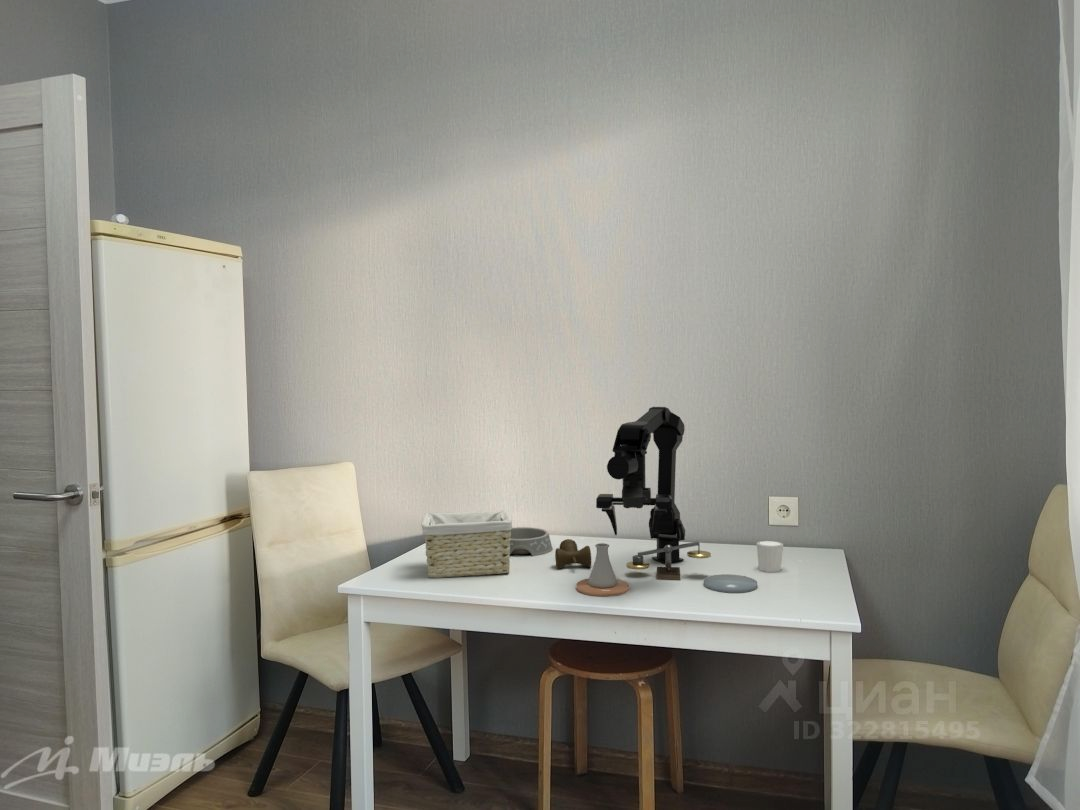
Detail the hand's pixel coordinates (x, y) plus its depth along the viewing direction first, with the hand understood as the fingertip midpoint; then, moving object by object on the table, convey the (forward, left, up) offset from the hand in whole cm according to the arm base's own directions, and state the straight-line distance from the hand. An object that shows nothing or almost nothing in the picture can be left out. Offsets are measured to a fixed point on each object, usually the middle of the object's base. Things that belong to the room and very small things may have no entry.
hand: (634, 535), depth 208 cm
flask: (+1, -10, -11) cm, 15 cm away
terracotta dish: (+1, -10, -12) cm, 16 cm away
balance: (-1, +11, -12) cm, 16 cm away
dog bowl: (-46, -10, -12) cm, 49 cm away
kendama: (-24, -5, -12) cm, 28 cm away
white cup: (+7, +38, -12) cm, 40 cm away
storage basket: (-32, -33, -12) cm, 48 cm away
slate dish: (+14, +19, -12) cm, 26 cm away
